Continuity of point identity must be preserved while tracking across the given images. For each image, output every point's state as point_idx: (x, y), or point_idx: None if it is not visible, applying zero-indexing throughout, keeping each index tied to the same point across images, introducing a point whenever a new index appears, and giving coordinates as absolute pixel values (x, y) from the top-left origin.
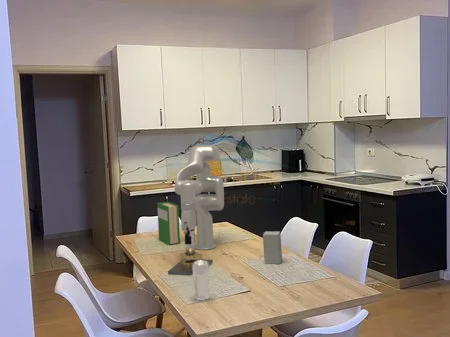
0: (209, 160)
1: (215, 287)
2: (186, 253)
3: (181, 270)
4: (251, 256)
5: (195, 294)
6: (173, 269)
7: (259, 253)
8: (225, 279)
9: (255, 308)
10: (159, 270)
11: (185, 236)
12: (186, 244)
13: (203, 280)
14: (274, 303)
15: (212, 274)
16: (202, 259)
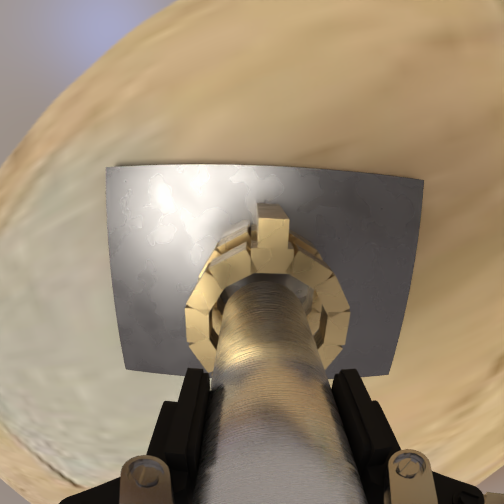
0: None
1: (48, 421)
2: (234, 304)
3: (137, 256)
4: (439, 457)
5: None
6: (146, 190)
7: (464, 460)
8: (131, 450)
9: (9, 471)
10: (186, 72)
11: (140, 464)
12: (220, 366)
13: None
14: (46, 500)
15: None
16: (400, 319)
